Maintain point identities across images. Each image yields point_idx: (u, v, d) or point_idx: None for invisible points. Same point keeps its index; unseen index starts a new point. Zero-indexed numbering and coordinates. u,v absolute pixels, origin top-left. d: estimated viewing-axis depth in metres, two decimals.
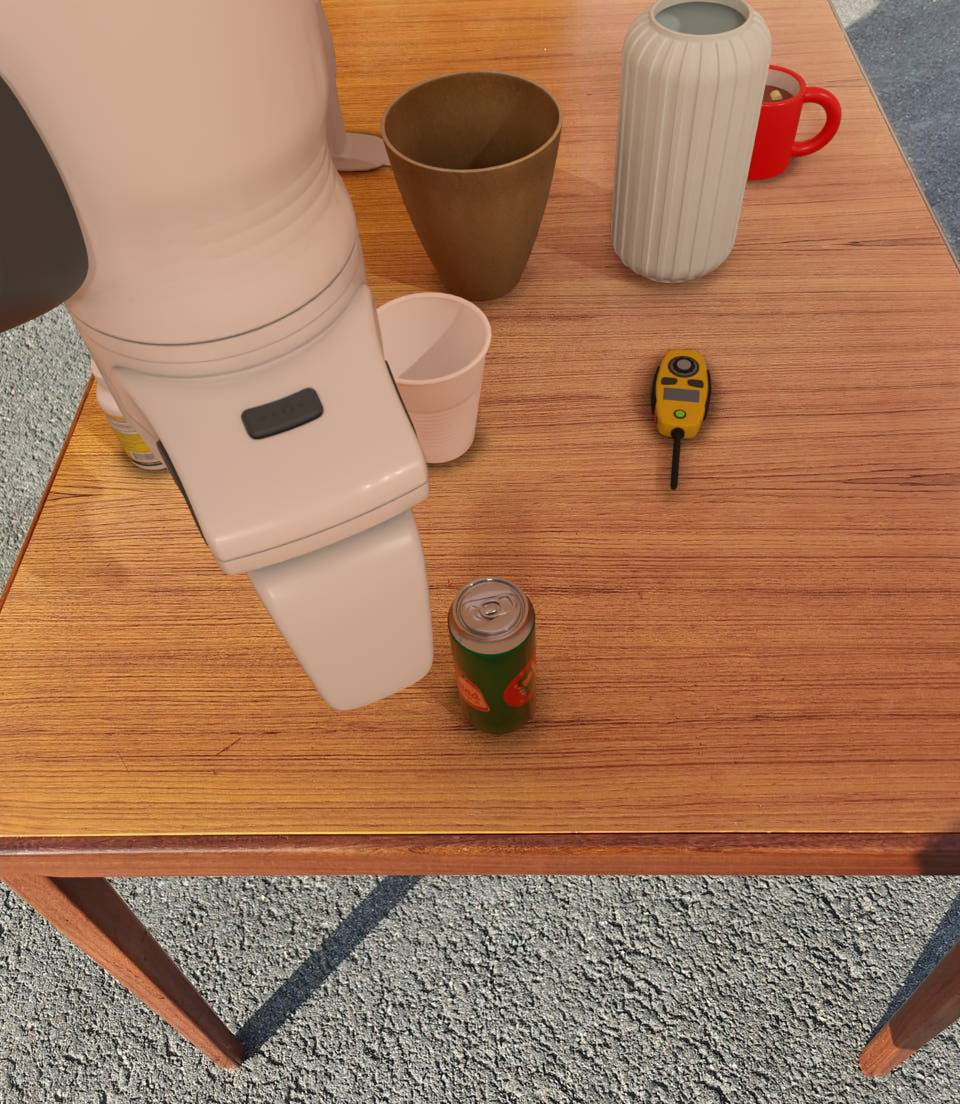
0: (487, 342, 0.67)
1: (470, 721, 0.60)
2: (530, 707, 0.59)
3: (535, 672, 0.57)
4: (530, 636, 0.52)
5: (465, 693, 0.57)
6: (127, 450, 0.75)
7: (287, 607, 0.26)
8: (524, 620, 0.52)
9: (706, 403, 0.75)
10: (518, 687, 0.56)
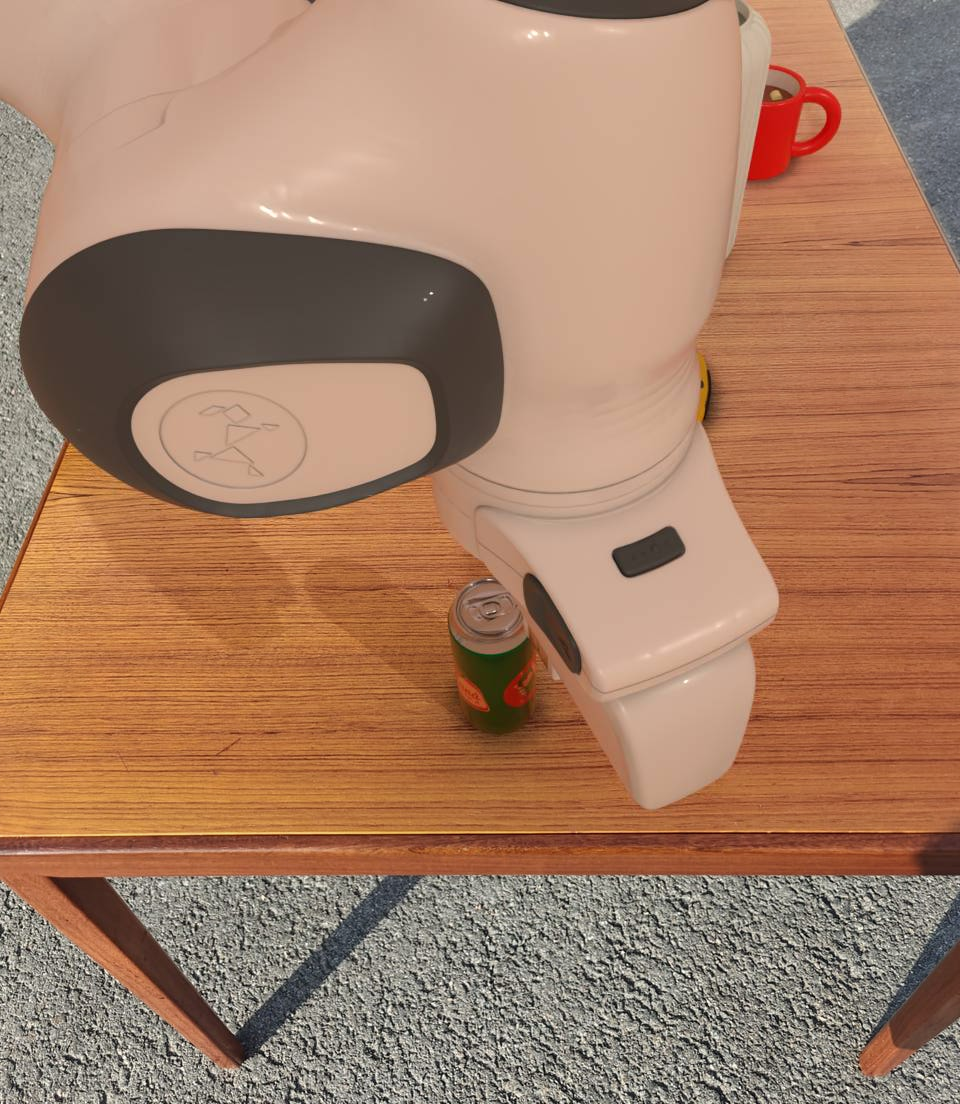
0: None
1: (470, 721, 0.60)
2: (530, 707, 0.59)
3: (535, 672, 0.57)
4: None
5: (465, 693, 0.57)
6: None
7: (641, 727, 0.28)
8: None
9: (706, 403, 0.75)
10: (518, 687, 0.56)
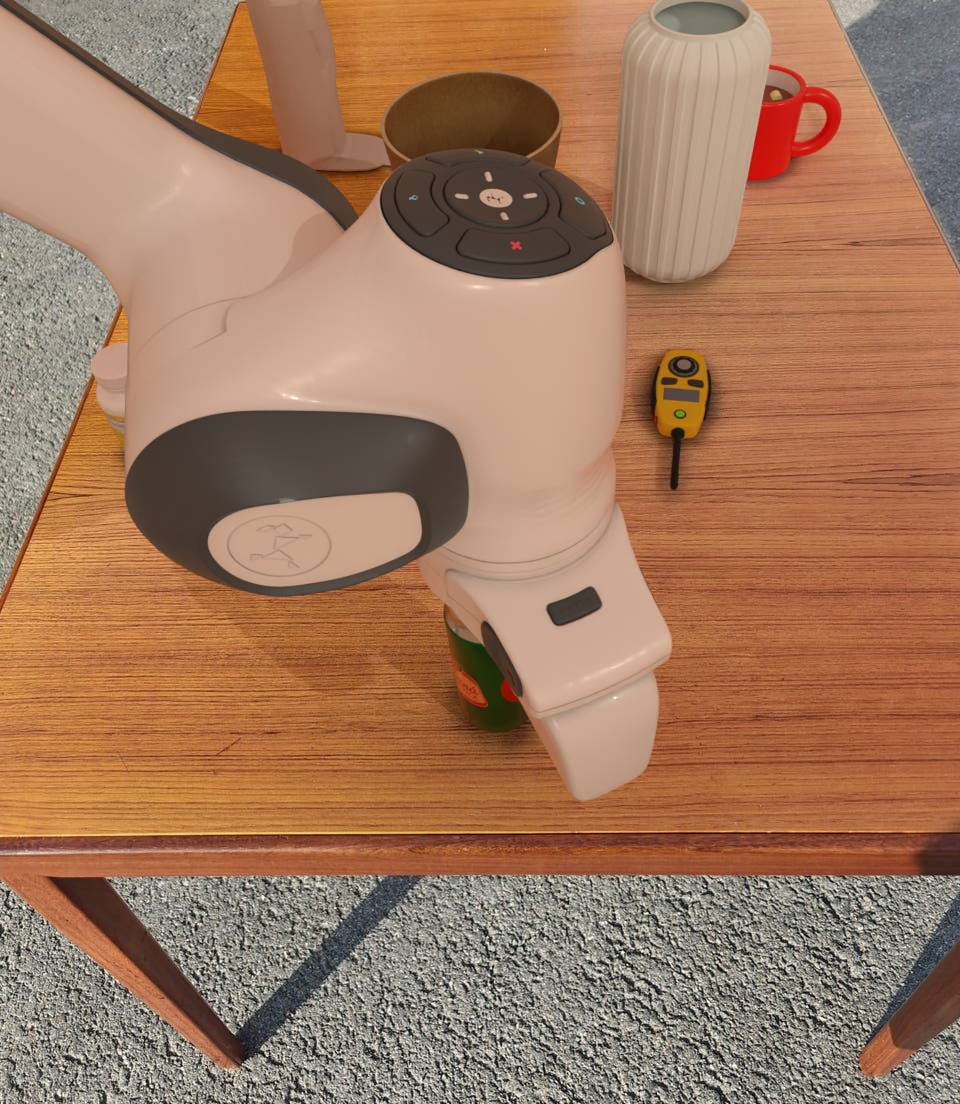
0: None
1: (469, 719, 0.60)
2: None
3: None
4: None
5: (463, 688, 0.57)
6: None
7: (569, 737, 0.37)
8: None
9: (706, 403, 0.75)
10: None
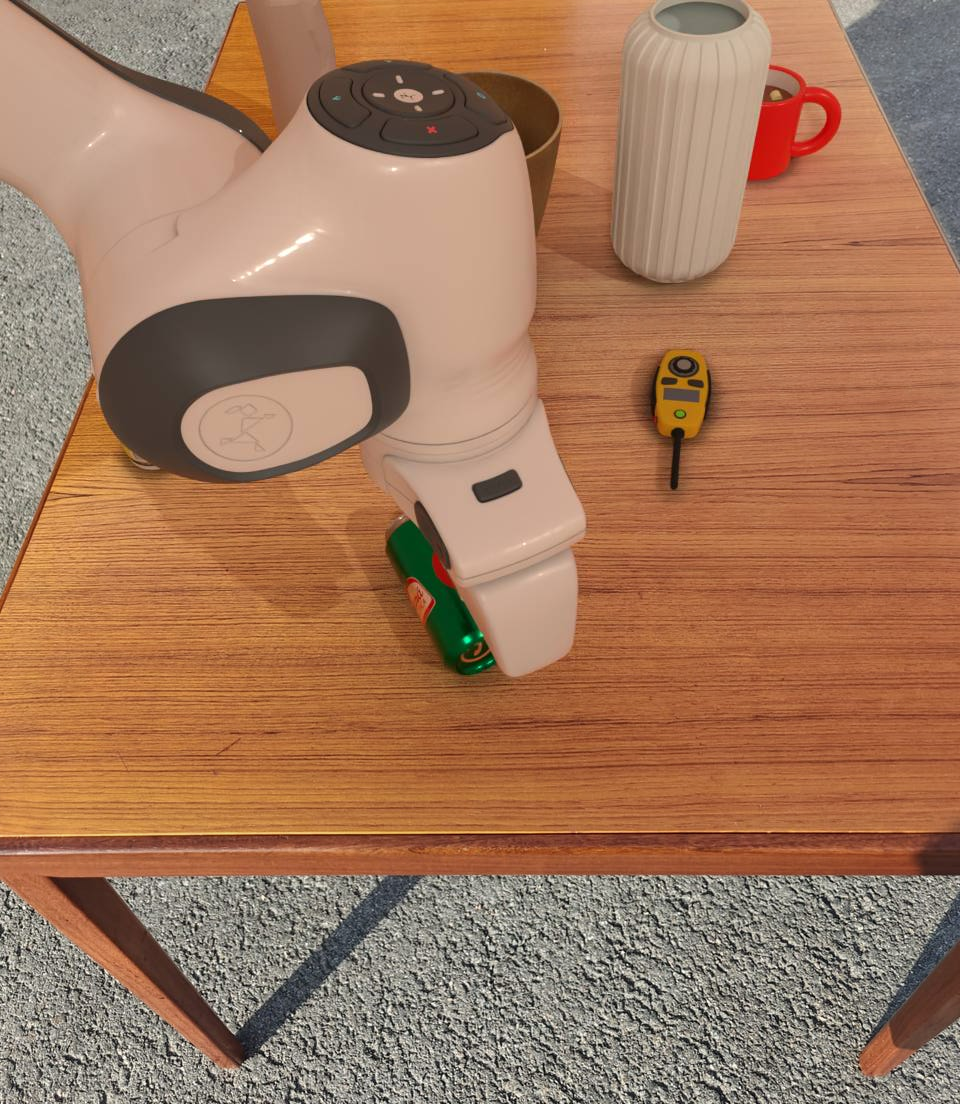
0: None
1: (441, 651, 0.61)
2: None
3: None
4: None
5: (418, 608, 0.63)
6: (127, 450, 0.75)
7: (494, 608, 0.41)
8: None
9: (706, 403, 0.75)
10: None
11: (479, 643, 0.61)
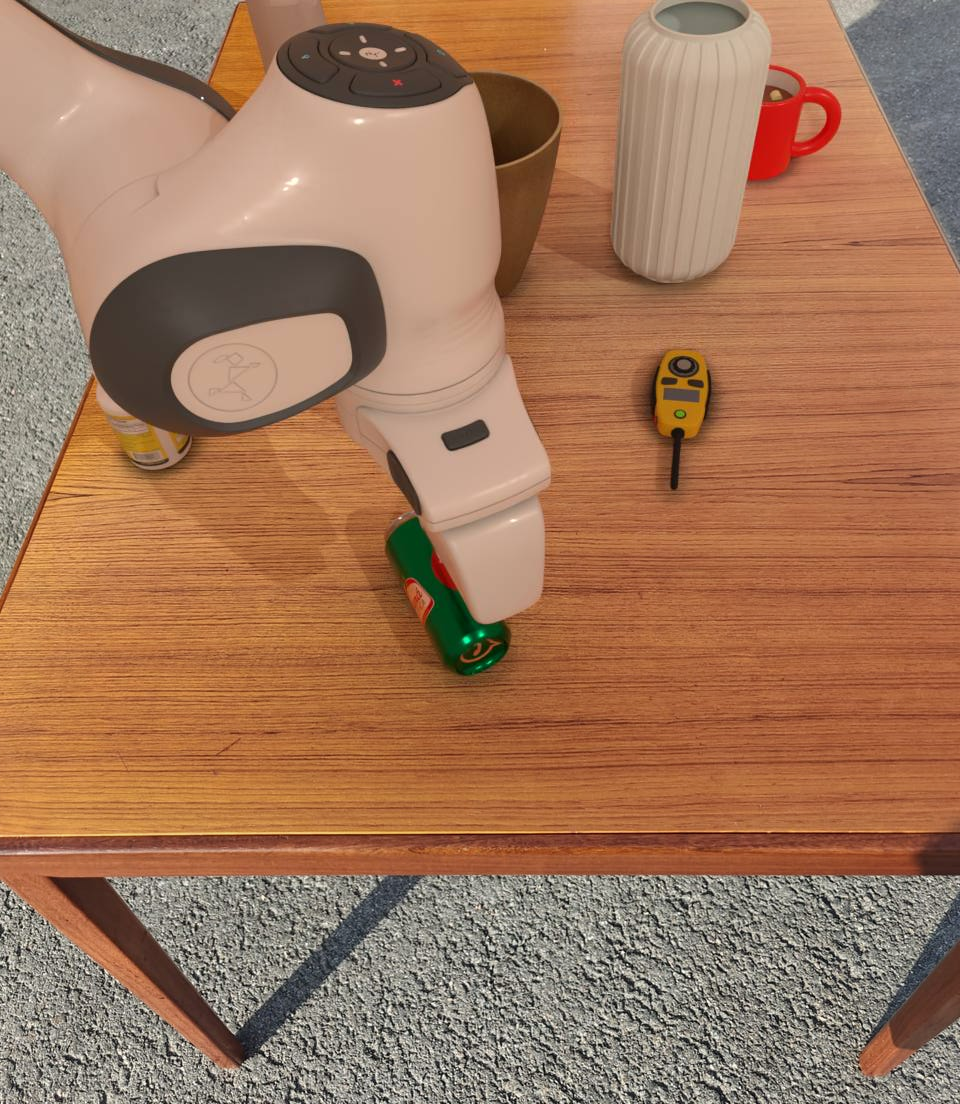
0: None
1: (441, 652, 0.61)
2: None
3: None
4: None
5: (418, 609, 0.63)
6: (127, 450, 0.75)
7: (464, 553, 0.43)
8: None
9: (706, 403, 0.75)
10: None
11: (478, 643, 0.61)
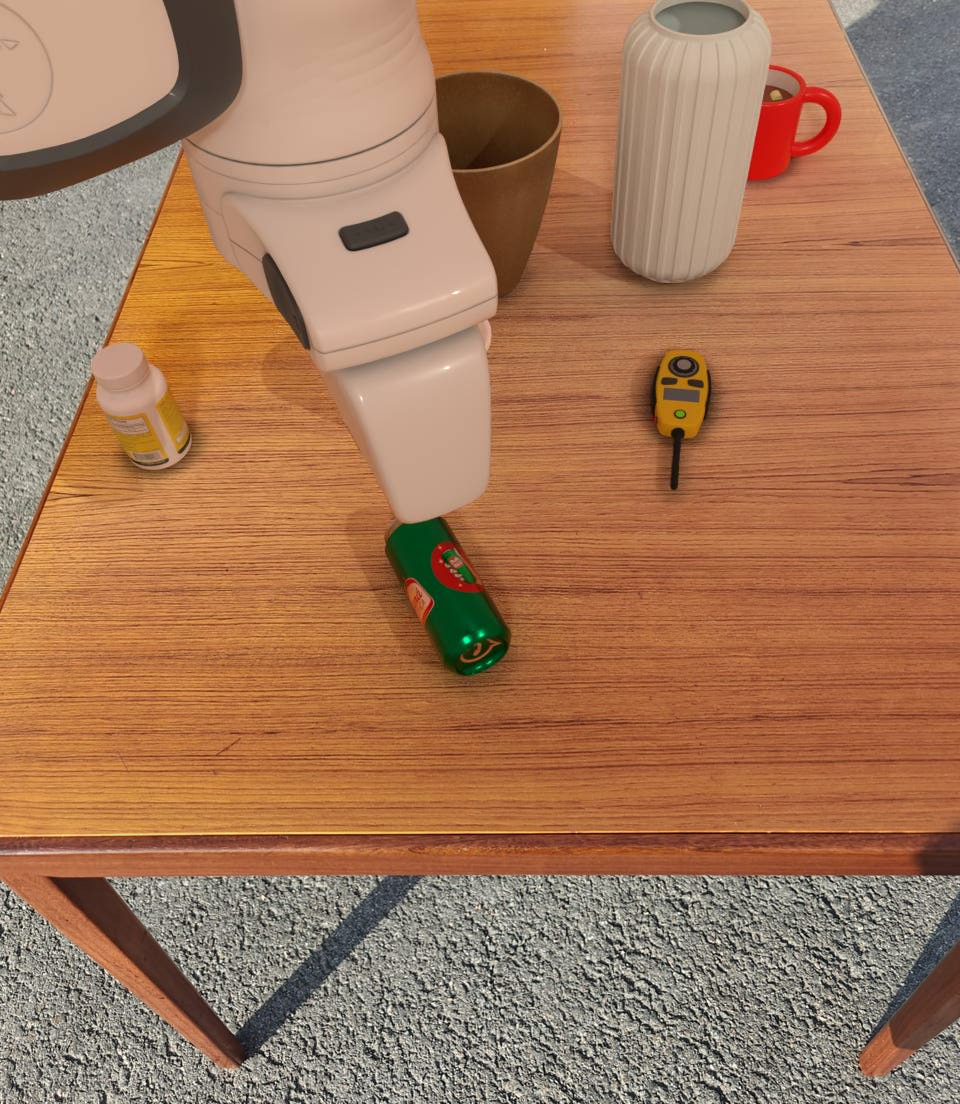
0: (487, 342, 0.67)
1: (441, 652, 0.61)
2: (484, 607, 0.61)
3: (475, 575, 0.63)
4: None
5: (418, 609, 0.63)
6: (127, 450, 0.75)
7: (372, 405, 0.30)
8: None
9: (706, 403, 0.75)
10: (444, 563, 0.63)
11: (478, 643, 0.61)
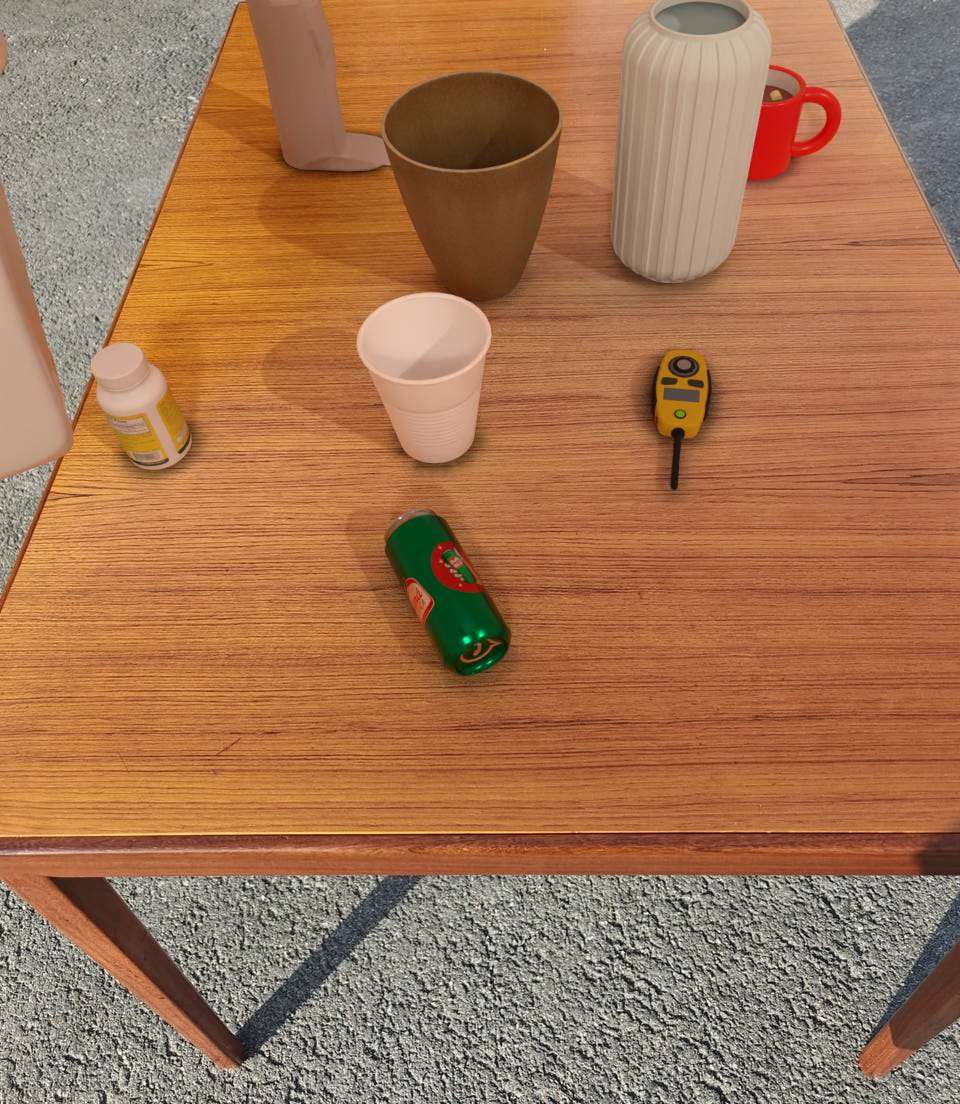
0: (487, 342, 0.67)
1: (441, 652, 0.61)
2: (484, 607, 0.61)
3: (475, 575, 0.63)
4: (435, 516, 0.66)
5: (418, 609, 0.63)
6: (127, 450, 0.75)
7: None
8: (426, 509, 0.67)
9: (706, 403, 0.75)
10: (444, 563, 0.63)
11: (478, 643, 0.61)
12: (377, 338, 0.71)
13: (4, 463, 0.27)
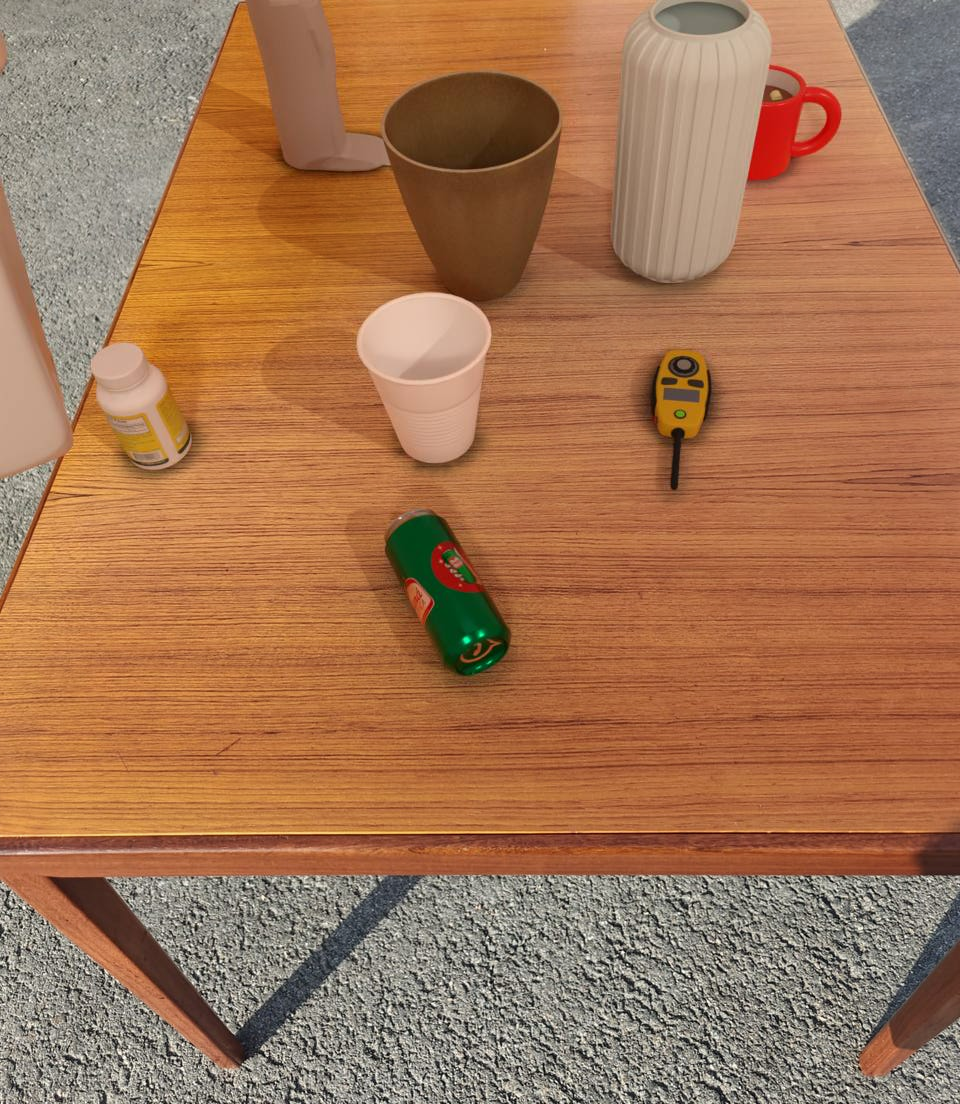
0: (487, 342, 0.67)
1: (441, 652, 0.61)
2: (484, 607, 0.61)
3: (475, 575, 0.63)
4: (435, 516, 0.66)
5: (418, 609, 0.63)
6: (127, 450, 0.75)
7: None
8: (426, 509, 0.67)
9: (706, 403, 0.75)
10: (444, 563, 0.63)
11: (478, 643, 0.61)
12: (377, 338, 0.71)
13: (3, 463, 0.27)
